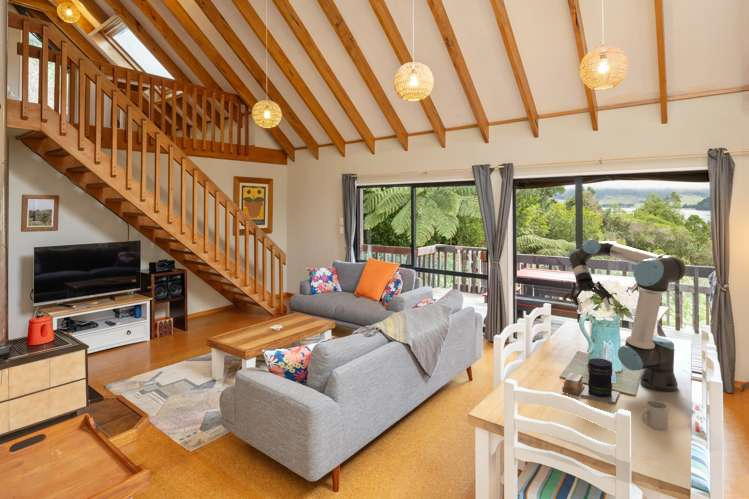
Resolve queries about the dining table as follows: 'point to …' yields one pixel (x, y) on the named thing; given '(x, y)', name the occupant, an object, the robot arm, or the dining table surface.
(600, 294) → the robot arm
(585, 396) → the slate board
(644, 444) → the dining table surface
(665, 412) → the cup
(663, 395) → the dining table surface
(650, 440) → the dining table surface
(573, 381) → the brown wooden block
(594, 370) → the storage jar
